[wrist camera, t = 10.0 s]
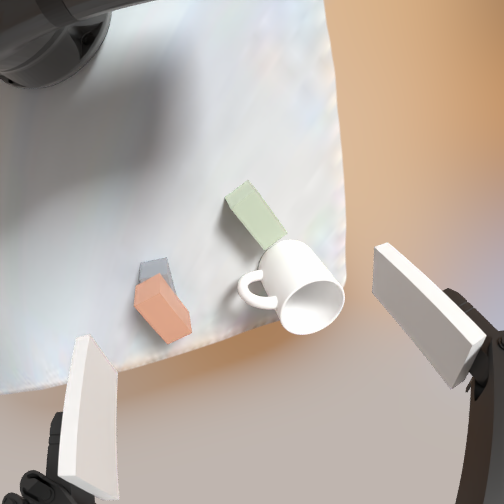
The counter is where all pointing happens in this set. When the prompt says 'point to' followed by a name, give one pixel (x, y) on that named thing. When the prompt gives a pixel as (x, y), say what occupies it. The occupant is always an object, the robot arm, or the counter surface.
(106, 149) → the counter surface
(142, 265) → the slate brick
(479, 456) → the robot arm
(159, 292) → the terracotta brick
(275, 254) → the mug
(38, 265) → the counter surface
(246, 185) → the sage brick
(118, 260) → the counter surface
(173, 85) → the counter surface
